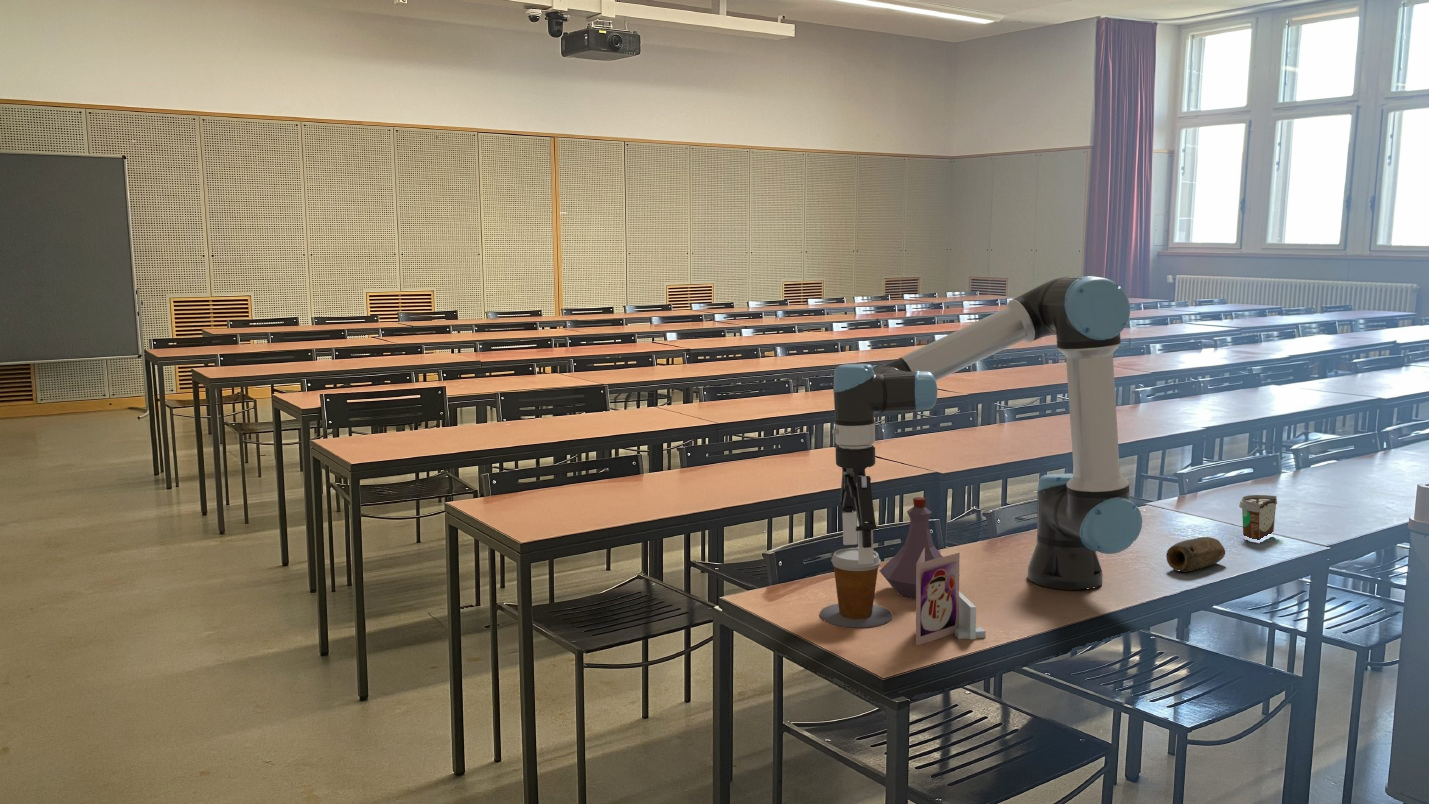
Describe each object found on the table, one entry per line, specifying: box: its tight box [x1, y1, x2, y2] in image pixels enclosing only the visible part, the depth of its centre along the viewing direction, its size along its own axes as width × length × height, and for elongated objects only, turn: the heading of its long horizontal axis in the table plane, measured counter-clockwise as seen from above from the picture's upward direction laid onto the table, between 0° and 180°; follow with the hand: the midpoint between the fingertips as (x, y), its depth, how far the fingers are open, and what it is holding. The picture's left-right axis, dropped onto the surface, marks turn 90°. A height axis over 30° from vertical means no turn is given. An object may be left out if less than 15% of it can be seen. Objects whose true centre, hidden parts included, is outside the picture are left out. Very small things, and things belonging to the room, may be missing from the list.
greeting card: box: [915, 548, 961, 646], centre depth 182 cm, size 11×7×15 cm, turn 126°
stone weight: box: [1166, 536, 1226, 572], centre depth 220 cm, size 15×7×7 cm, turn 129°
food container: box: [1238, 494, 1278, 540], centre depth 243 cm, size 12×6×10 cm, turn 133°
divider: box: [954, 590, 987, 640], centre depth 188 cm, size 5×17×6 cm, turn 5°
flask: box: [878, 496, 961, 601], centre depth 206 cm, size 16×16×20 cm
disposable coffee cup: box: [830, 547, 882, 619], centre depth 193 cm, size 10×10×12 cm
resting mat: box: [819, 603, 893, 629], centre depth 194 cm, size 14×14×1 cm
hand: (858, 553), depth 193 cm, fingers open, 13 cm apart
